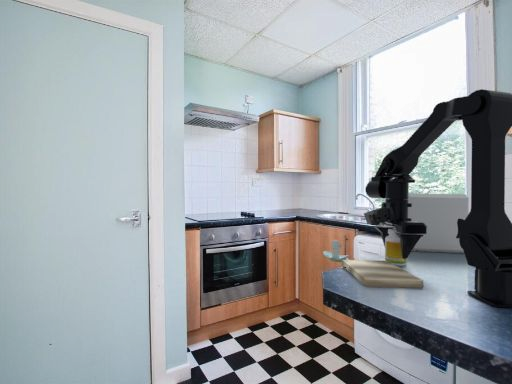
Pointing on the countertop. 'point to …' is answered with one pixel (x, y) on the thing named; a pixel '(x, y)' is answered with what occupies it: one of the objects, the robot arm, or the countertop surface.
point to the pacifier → (335, 252)
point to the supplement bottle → (393, 248)
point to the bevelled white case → (438, 220)
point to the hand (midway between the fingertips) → (395, 254)
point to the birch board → (381, 274)
